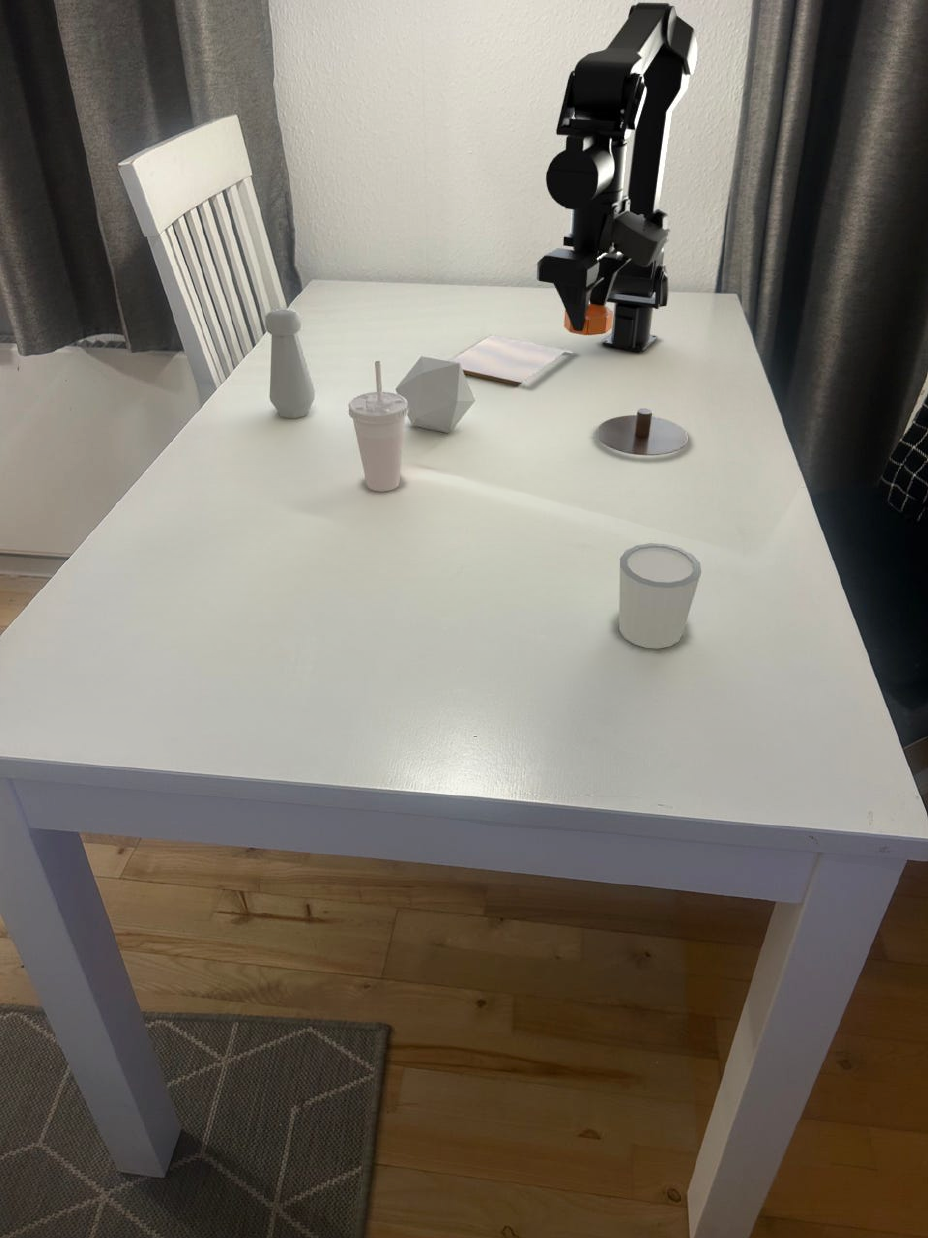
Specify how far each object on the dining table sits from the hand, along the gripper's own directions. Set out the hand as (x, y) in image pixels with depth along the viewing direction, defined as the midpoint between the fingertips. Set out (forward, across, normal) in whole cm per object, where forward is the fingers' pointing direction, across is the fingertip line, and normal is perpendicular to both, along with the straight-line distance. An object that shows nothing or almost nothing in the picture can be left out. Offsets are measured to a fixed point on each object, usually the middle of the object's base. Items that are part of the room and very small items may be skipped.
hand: (587, 322), depth 114 cm
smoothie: (+11, -31, +11) cm, 34 cm away
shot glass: (+10, -42, -25) cm, 50 cm away
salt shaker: (+11, -21, +32) cm, 39 cm away
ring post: (+11, -6, -11) cm, 16 cm away
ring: (0, 0, 0) cm, 0 cm away
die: (+11, -15, +13) cm, 23 cm away
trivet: (+11, +8, +15) cm, 20 cm away
